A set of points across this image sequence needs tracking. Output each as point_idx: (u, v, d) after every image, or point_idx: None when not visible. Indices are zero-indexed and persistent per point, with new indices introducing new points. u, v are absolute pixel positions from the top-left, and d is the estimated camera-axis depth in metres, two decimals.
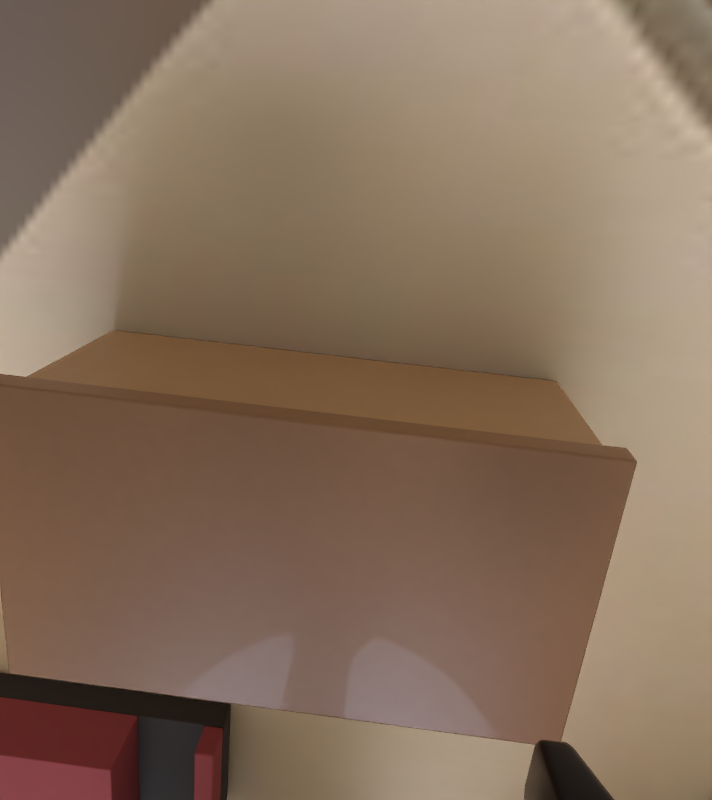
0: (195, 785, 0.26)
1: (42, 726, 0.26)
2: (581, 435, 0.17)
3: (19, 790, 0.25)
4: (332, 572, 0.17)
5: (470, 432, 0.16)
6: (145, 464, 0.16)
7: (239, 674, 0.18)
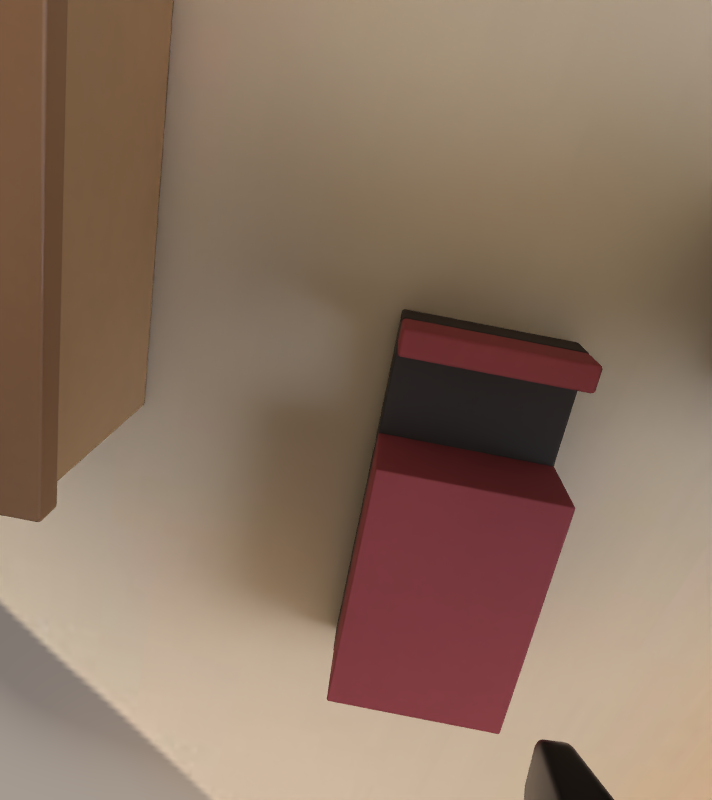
0: (460, 365, 0.17)
1: (356, 548, 0.19)
2: None
3: (411, 595, 0.18)
4: None
5: None
6: None
7: None
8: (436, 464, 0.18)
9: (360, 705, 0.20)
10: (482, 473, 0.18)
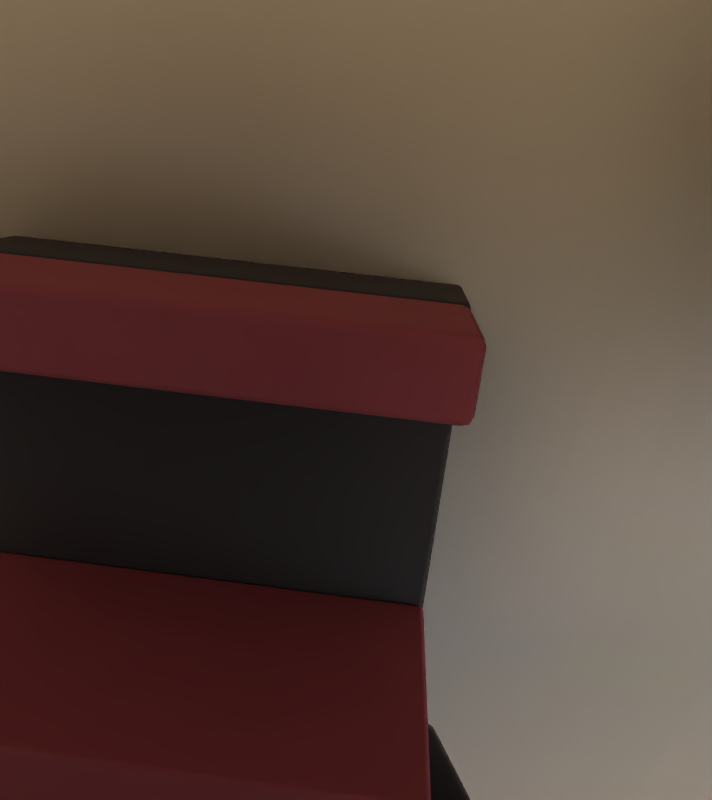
0: (40, 369, 0.05)
1: None
2: None
3: None
4: None
5: None
6: None
7: None
8: (50, 655, 0.06)
9: None
10: (181, 673, 0.06)
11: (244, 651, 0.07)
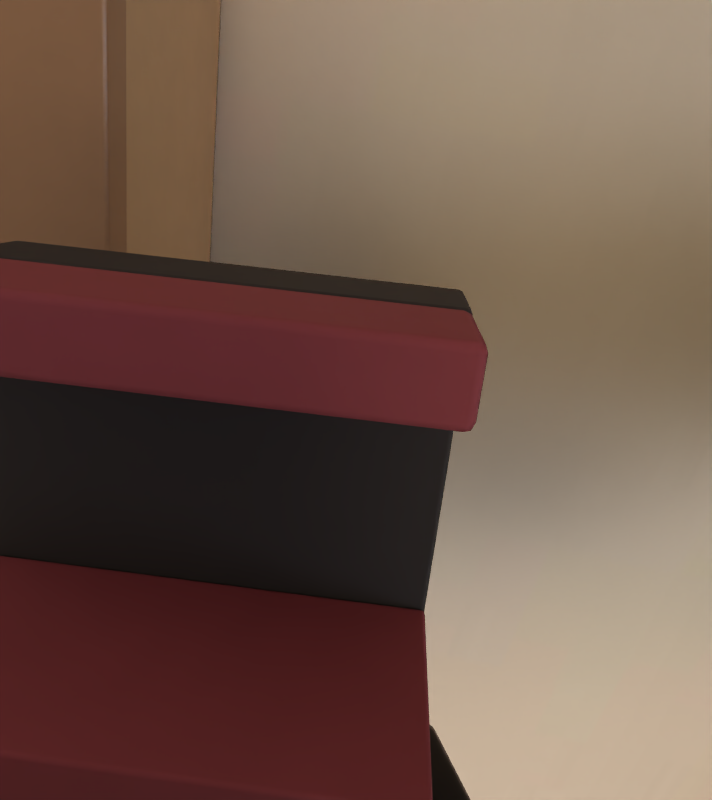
0: (43, 376, 0.05)
1: None
2: None
3: None
4: None
5: None
6: None
7: None
8: (52, 660, 0.06)
9: None
10: (184, 677, 0.06)
11: (246, 656, 0.07)
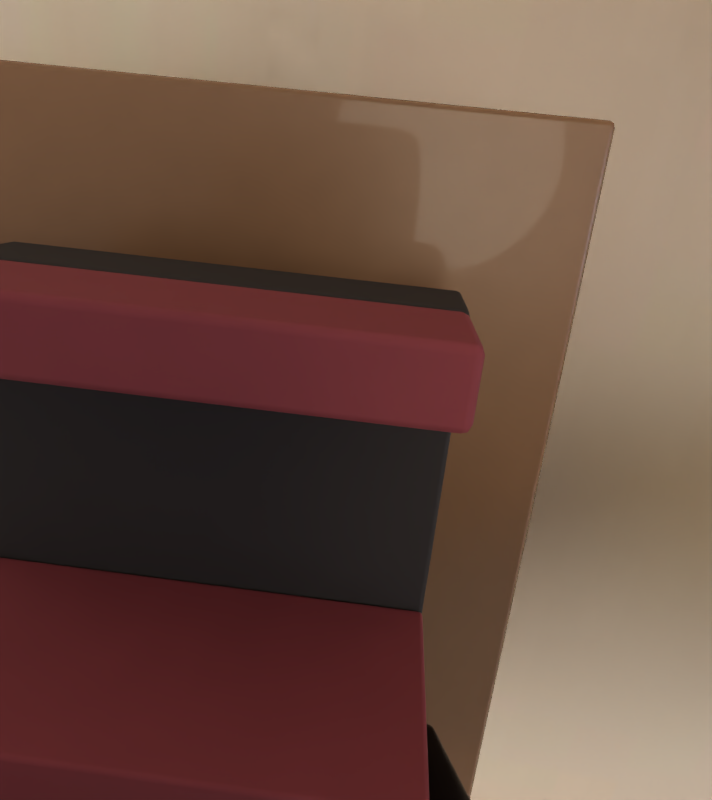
0: (39, 377, 0.05)
1: None
2: None
3: None
4: None
5: None
6: None
7: (429, 684, 0.11)
8: (49, 662, 0.06)
9: None
10: (181, 680, 0.06)
11: (243, 657, 0.07)
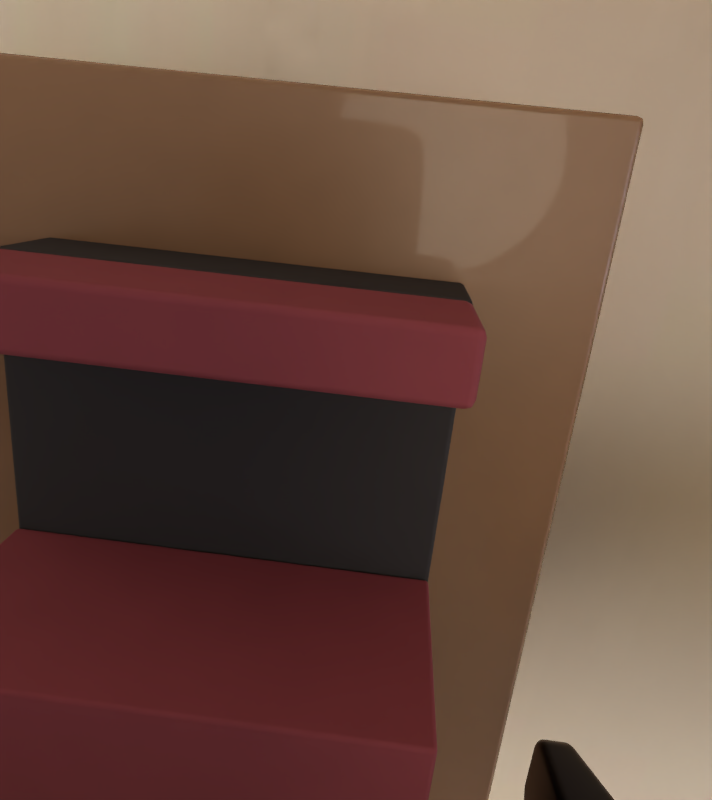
0: (86, 358, 0.06)
1: None
2: None
3: None
4: None
5: None
6: None
7: (436, 721, 0.10)
8: (89, 620, 0.07)
9: None
10: (209, 636, 0.07)
11: (265, 618, 0.07)
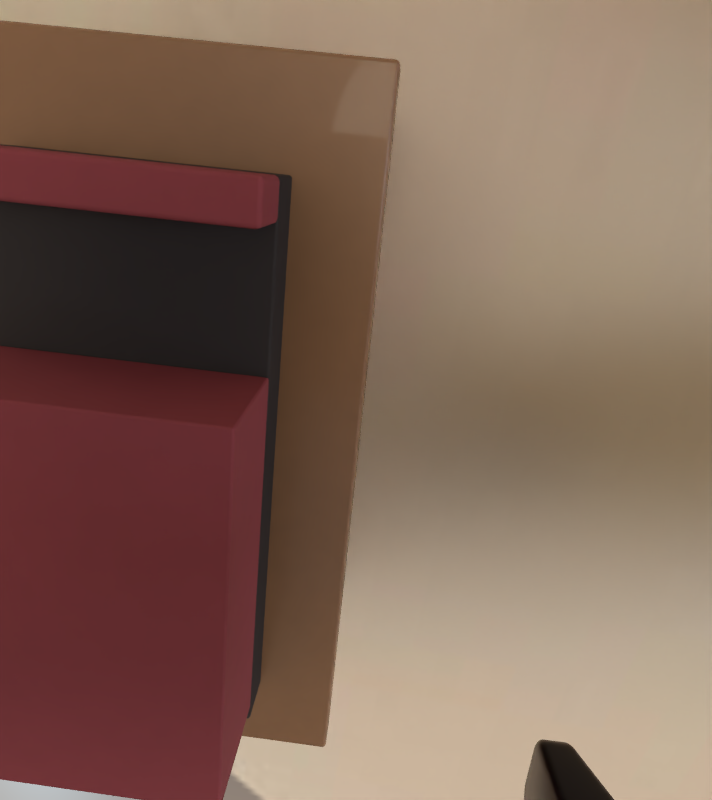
0: (26, 198, 0.10)
1: None
2: None
3: (15, 599, 0.11)
4: None
5: None
6: None
7: (300, 513, 0.14)
8: (32, 378, 0.11)
9: None
10: (109, 387, 0.11)
11: (148, 384, 0.11)
